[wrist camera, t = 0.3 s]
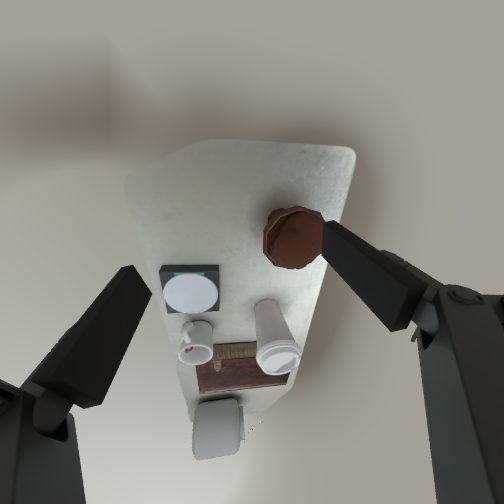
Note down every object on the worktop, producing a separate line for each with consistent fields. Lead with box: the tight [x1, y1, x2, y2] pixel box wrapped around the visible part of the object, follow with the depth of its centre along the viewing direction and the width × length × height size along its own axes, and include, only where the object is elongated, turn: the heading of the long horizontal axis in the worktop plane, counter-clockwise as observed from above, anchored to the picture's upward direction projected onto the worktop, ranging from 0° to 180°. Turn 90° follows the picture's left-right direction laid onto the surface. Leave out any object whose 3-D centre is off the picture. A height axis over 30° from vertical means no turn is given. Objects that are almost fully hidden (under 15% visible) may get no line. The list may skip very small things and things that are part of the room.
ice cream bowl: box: [263, 206, 325, 269], centre depth 30 cm, size 11×11×15 cm
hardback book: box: [195, 342, 291, 394], centre depth 57 cm, size 29×19×5 cm, turn 86°
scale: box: [159, 265, 220, 314], centre depth 41 cm, size 12×12×3 cm
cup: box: [179, 321, 213, 365], centre depth 45 cm, size 11×8×8 cm
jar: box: [192, 393, 262, 460], centre depth 65 cm, size 19×15×25 cm
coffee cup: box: [255, 299, 301, 375], centre depth 42 cm, size 10×10×15 cm
